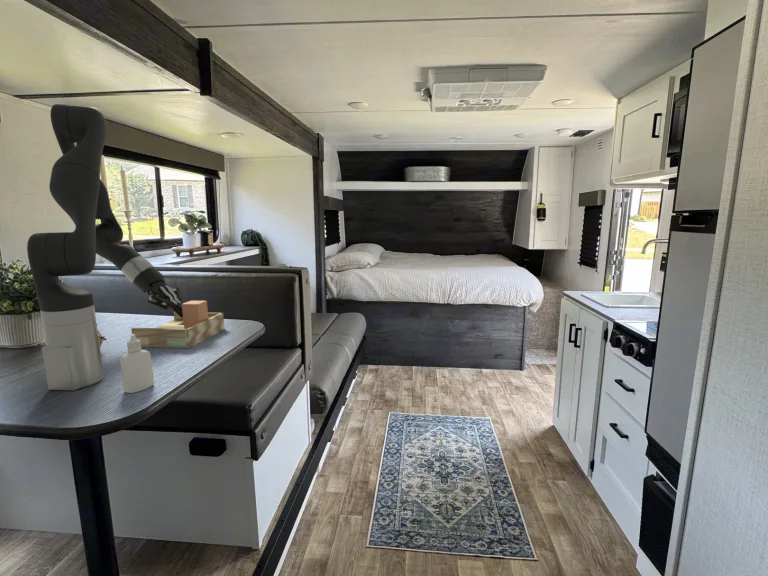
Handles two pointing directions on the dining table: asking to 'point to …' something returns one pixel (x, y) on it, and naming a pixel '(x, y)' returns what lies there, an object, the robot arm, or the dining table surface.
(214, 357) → the dining table surface
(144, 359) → the eye dropper bottle
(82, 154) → the robot arm
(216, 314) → the wooden tray
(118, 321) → the dining table surface
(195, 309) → the terracotta block
